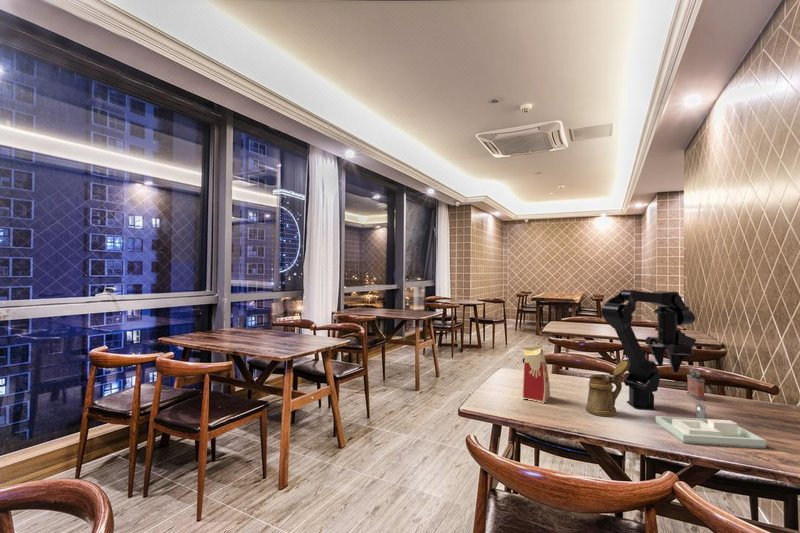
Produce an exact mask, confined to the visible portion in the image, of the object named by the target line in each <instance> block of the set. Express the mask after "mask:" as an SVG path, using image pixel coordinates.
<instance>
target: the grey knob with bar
mask: <svg viewBox="0 0 800 533" xmlns="http://www.w3.org/2000/svg"><path fill="white" fill-rule="evenodd" d="M694 405H695V411H696V413H695V415H696V416H695V418H699V419H707V405H705V404H704V403H702V402H701V401H694Z"/></svg>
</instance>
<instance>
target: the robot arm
mask: <svg viewBox="0 0 800 533" xmlns="http://www.w3.org/2000/svg"><path fill="white" fill-rule="evenodd" d="M625 302H627V303H626V304H624V303H625ZM638 302H640V303H641V302H642V303H651V304H652V305H654V306H656V307H657V308H656V309H655V310H653V313H654V314H657V327H654V330H655V331H657V336H646V338H645V345H647V347H648V349H649V350H650V352H651V354H652V356H653V357H654V359H655V361H656V362H655V361H654V360H649V359H648V360H647V358H646V356H645V354H644V352H643V349H642V347H641V345H640V343H639V341H638V338H637V336H636V334H635V332H634V330H633V327H632V325H631V324H632V320H633V313H634V312H635V311H636V307H637V304H636V303H638ZM600 313H601V316H602V317H603V320H604V321H605V322H606V323H607V324H608V325H609V326H611V328H613V329H614V331H615V333H616V334H617V338H618V339H619V342H620V344H621V345H622V348H623V350H624V352H625V354H626V357H627V359H629V361H630V364H629V367H628V373H627V375H626V376H625V377H624V379H623V383H624V386H626V387H628V400H627V401H626V403H627V404H628V405H630V406H631V407H632V408H634V409H637V410H638V409H639V410H642V409H643V410H656V407H655V394H654V393H655V392H658V389H659V385H660V381H661V375H660V370H659V369H658V367H657V366H659V367H662V366H663V364H664V356H665V352H666V350H667V352H666V353H667V358H668V359H669V363H670V366H671V369H672V371H673V373H678V372H679V369H680V367H681V364H682V362H683V360H684V359H685V358H687V357H690V356H691V355H693V354H694V347H695V344H696V343H697V339H696V338H693V337H691V336H688V335H686V333H684V332H682V331H681V329H678V326H688V325H690V326H691V325H692V324H693V323H694V322H695V320H696V316H695V314H694V313H693V311H691V310H690V307H689V306H687V305H686V304H685V302H684V300H683V298H682V297H681V295H680V293H679V292H678V291H670V290H669V291H667V290H666V291H665V290H657V291H653V292H649V291H642V290H641V291H638V290H636V289H635V290H634V289H623V290H621V291H620V292H619V293H618V294H617V295H615V296H613V297H612V298H610V299H608V301H606V303H605V304H604V305H603V306H602V308H601V311H600Z"/></svg>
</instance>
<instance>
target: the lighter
mask: <svg viewBox="0 0 800 533" xmlns="http://www.w3.org/2000/svg"><path fill="white" fill-rule="evenodd" d="M688 372H689V374H688V373H687V374H686V376H687V377H686V378H687V391H686V394H687V395H688V396H689V397H690V398H692V399H695V400H696V401H699V402H701V401H702V402H704V401H705V400H706V397H705V379H704V378H703V377H702V373H700V371H699V370H696V369H693V368H689V370H688Z"/></svg>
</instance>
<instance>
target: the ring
mask: <svg viewBox="0 0 800 533" xmlns="http://www.w3.org/2000/svg"><path fill="white" fill-rule="evenodd" d="M707 419H708V424H706V423H705V422H703V421H701V420H684V419H672V426H674V427H675V428H677V429H678V430H680V431H681V432H682V433H684V434H692V435H708V436H721V435H723V436H738V427H737V425H738V423H737V422H734V421H733V420H730V419H729V420H728V419H716V420H715V418H712V419H711V418H707Z"/></svg>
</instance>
